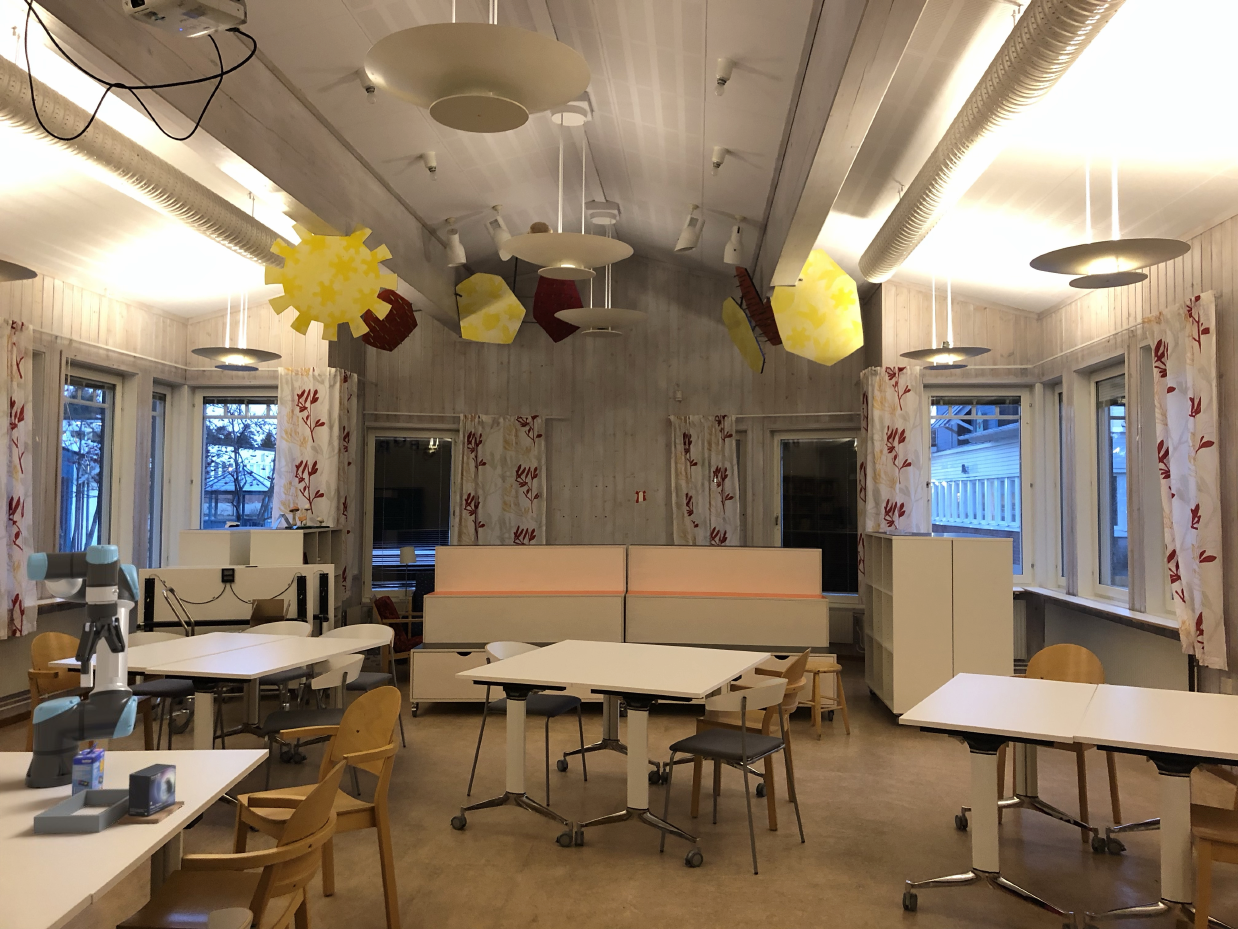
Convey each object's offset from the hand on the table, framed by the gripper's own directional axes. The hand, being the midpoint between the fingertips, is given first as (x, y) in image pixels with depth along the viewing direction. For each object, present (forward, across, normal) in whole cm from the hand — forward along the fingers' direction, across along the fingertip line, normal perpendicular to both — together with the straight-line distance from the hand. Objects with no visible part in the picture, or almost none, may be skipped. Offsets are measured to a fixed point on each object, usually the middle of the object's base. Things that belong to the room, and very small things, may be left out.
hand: (100, 681), depth 247 cm
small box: (+32, -8, -18) cm, 37 cm away
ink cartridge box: (+33, +7, +7) cm, 34 cm away
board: (+33, -8, -18) cm, 38 cm away
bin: (+33, -10, -4) cm, 34 cm away
